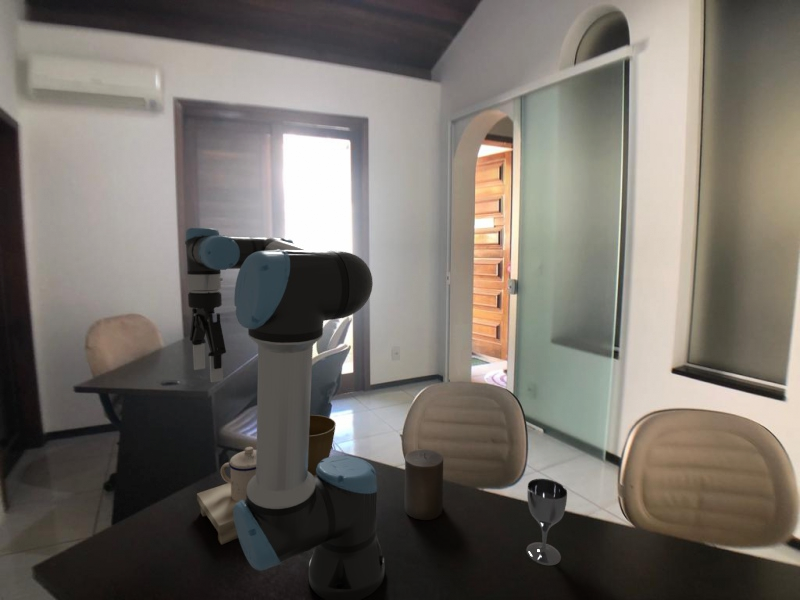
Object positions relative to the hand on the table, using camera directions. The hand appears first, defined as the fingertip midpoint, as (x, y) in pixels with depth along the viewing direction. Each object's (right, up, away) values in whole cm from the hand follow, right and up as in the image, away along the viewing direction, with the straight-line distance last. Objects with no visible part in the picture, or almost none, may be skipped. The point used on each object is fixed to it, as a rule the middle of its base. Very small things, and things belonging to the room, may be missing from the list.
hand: (207, 374), depth 109 cm
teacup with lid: (+10, -29, -3) cm, 31 cm away
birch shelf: (+11, -34, -3) cm, 35 cm away
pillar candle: (+54, -34, 0) cm, 64 cm away
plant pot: (+23, -32, +13) cm, 42 cm away
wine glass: (+80, -36, -16) cm, 89 cm away
